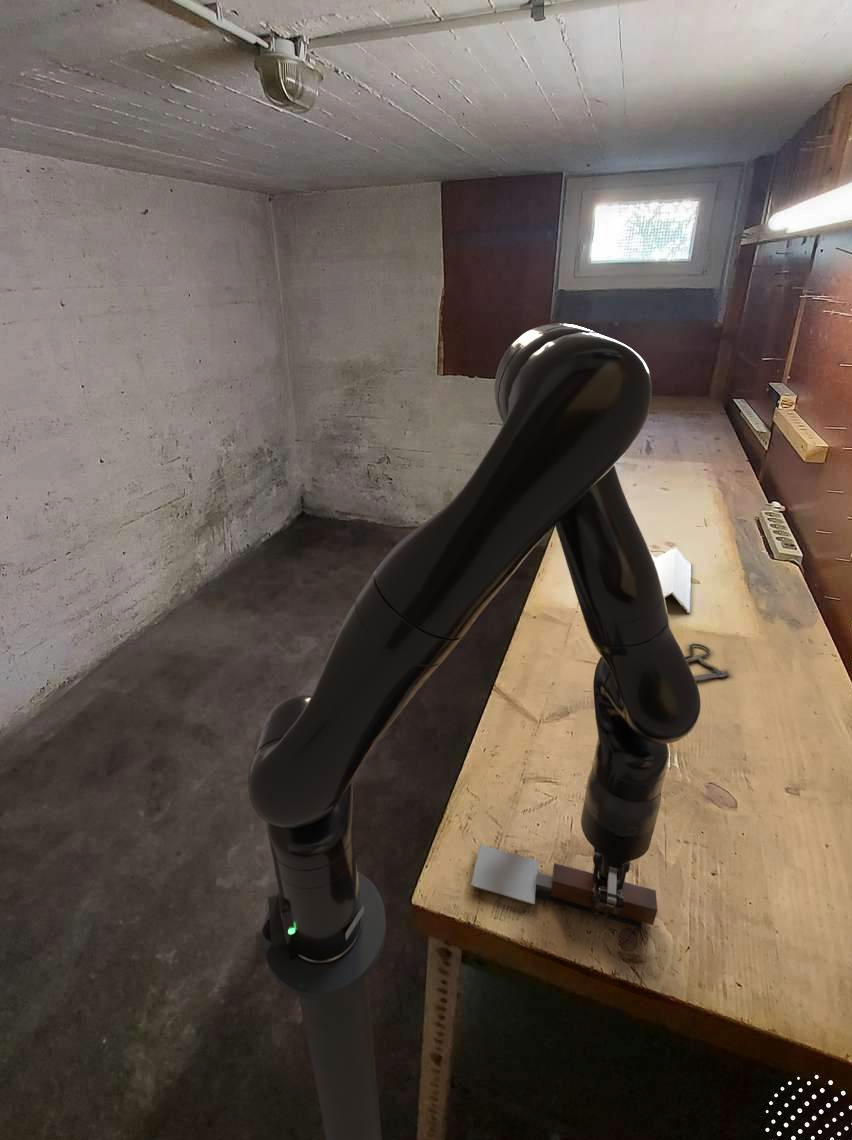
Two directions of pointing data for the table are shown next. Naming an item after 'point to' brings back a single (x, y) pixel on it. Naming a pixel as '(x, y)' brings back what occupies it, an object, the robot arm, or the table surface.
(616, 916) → the edge strip
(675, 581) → the z bracket
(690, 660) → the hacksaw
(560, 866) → the scraper
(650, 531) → the table surface
